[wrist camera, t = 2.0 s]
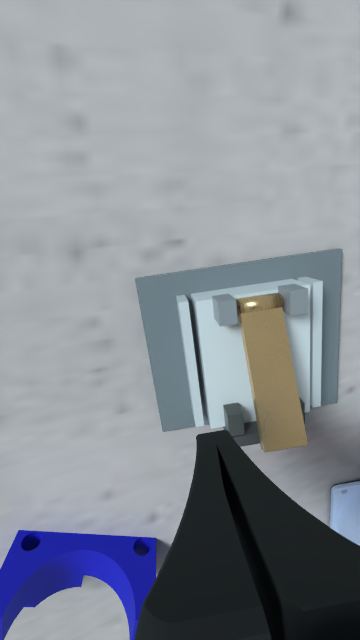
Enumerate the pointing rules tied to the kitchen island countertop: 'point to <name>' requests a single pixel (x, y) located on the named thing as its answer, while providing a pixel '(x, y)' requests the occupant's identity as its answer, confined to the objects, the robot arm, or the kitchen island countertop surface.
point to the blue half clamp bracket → (75, 570)
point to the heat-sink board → (218, 278)
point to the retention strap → (271, 372)
